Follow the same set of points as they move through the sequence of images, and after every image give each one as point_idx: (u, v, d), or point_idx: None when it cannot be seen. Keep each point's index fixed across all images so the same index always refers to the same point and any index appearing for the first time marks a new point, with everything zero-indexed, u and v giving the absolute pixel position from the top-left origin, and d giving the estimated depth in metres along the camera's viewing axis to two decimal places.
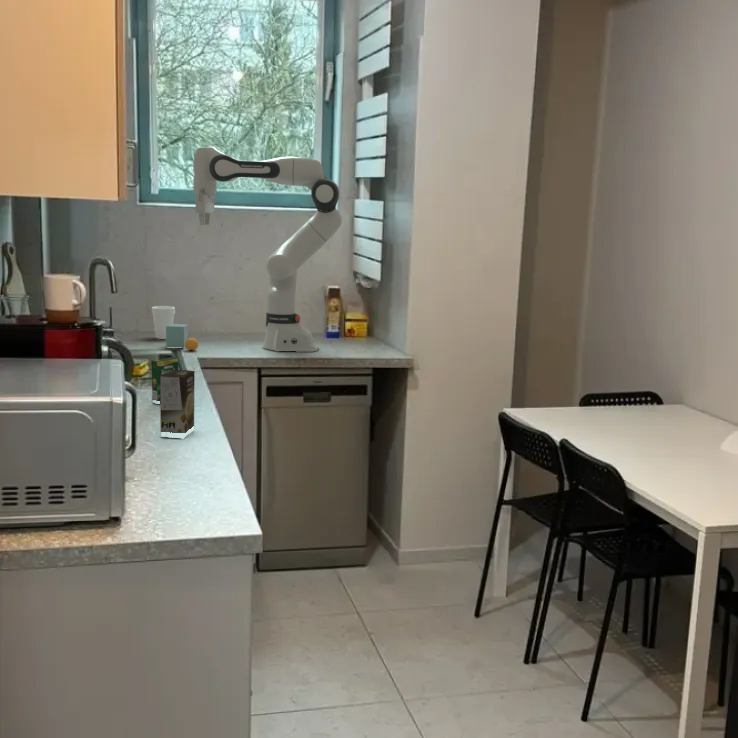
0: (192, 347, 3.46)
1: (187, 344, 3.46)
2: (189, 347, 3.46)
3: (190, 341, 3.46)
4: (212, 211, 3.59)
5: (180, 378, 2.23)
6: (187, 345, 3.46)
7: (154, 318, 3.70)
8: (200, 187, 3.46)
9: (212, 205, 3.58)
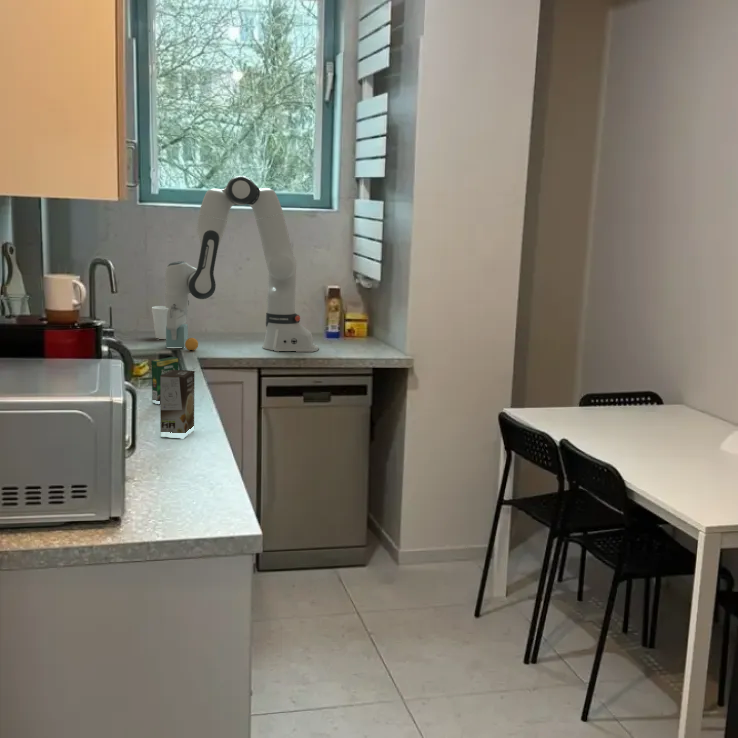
0: (192, 347, 3.46)
1: (187, 344, 3.46)
2: (189, 347, 3.46)
3: (190, 341, 3.46)
4: (184, 322, 3.60)
5: (180, 378, 2.23)
6: (187, 345, 3.46)
7: (154, 318, 3.70)
8: (172, 302, 3.47)
9: (184, 316, 3.59)
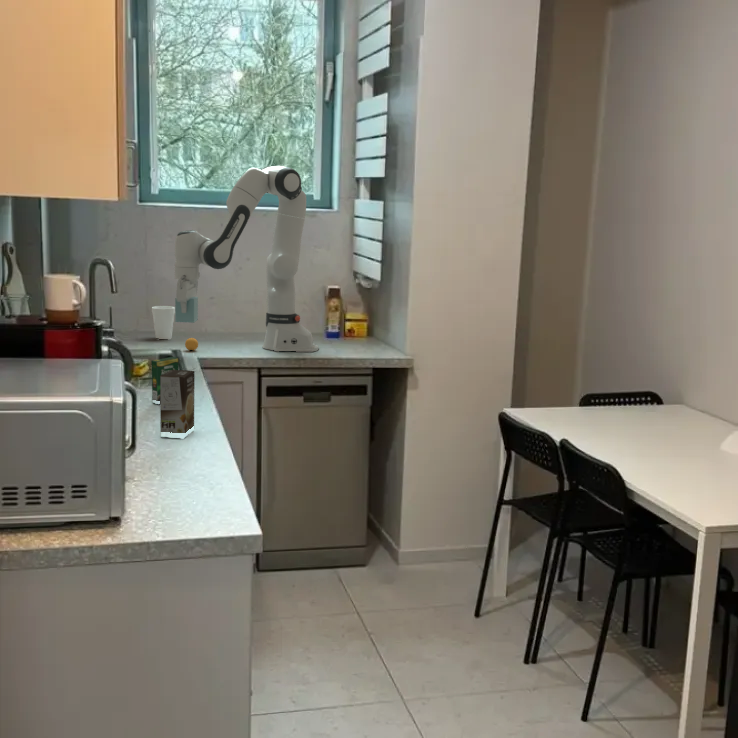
0: (192, 347, 3.46)
1: (187, 344, 3.46)
2: (189, 347, 3.46)
3: (190, 341, 3.46)
4: (195, 295, 3.42)
5: (180, 378, 2.23)
6: (187, 345, 3.46)
7: (154, 318, 3.70)
8: (181, 273, 3.30)
9: (195, 289, 3.42)
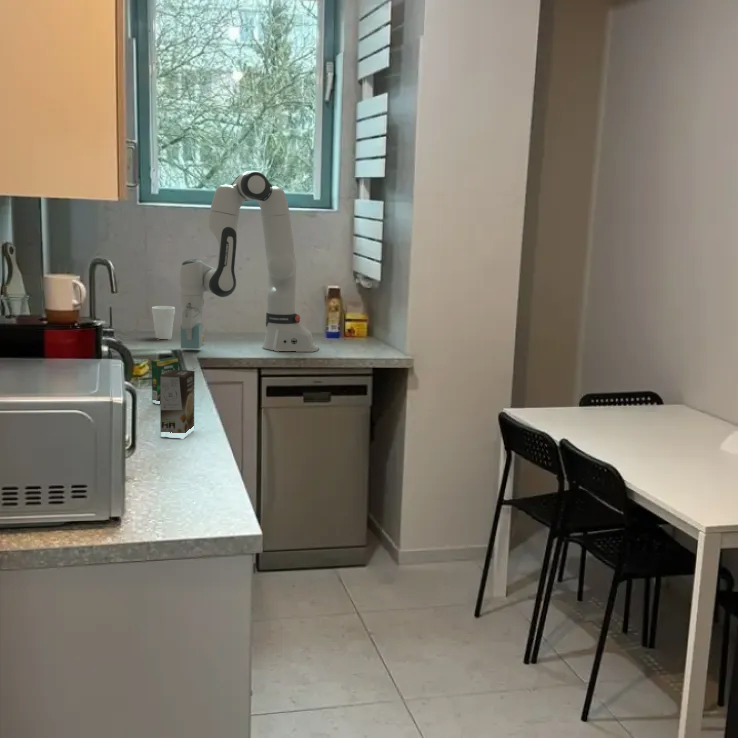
0: None
1: None
2: None
3: None
4: (199, 321, 3.53)
5: (180, 378, 2.23)
6: None
7: (154, 318, 3.70)
8: (187, 301, 3.40)
9: (199, 316, 3.52)
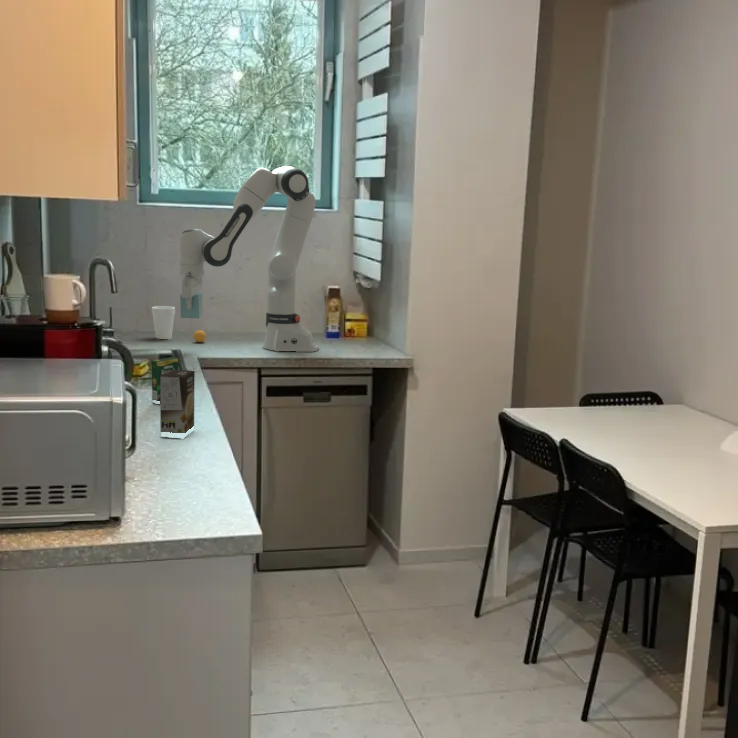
0: (201, 331, 3.66)
1: (196, 331, 3.67)
2: (198, 331, 3.66)
3: None
4: (199, 292, 3.51)
5: (180, 378, 2.23)
6: (196, 331, 3.67)
7: (154, 318, 3.70)
8: (186, 270, 3.38)
9: (199, 286, 3.50)
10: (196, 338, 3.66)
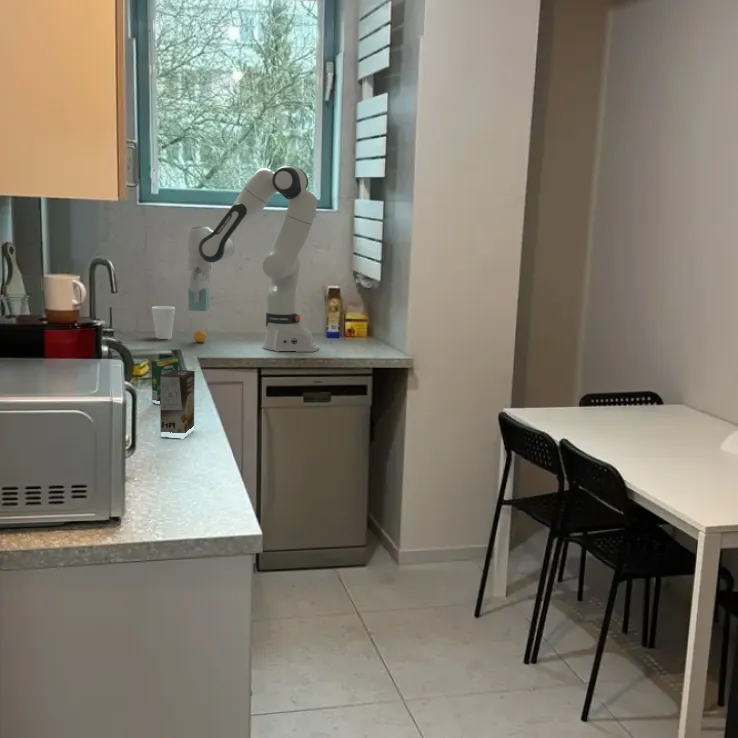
0: (201, 331, 3.66)
1: (196, 331, 3.67)
2: (198, 331, 3.66)
3: None
4: (206, 286, 3.71)
5: (180, 378, 2.23)
6: (196, 331, 3.67)
7: (154, 318, 3.70)
8: (195, 266, 3.58)
9: (206, 280, 3.70)
10: (196, 338, 3.66)
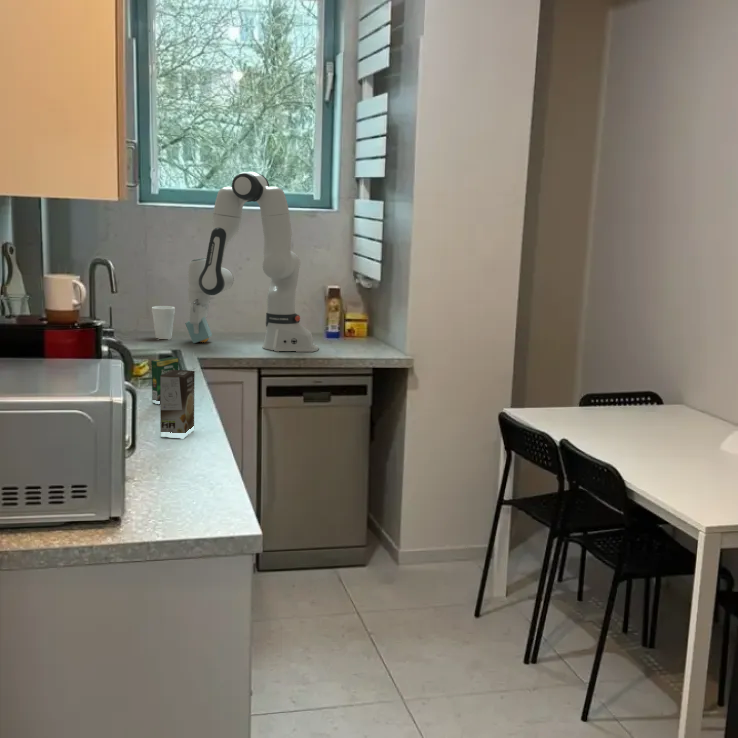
0: None
1: None
2: None
3: None
4: (206, 317, 3.73)
5: (180, 378, 2.23)
6: None
7: (154, 318, 3.70)
8: (194, 297, 3.61)
9: (206, 311, 3.73)
10: None
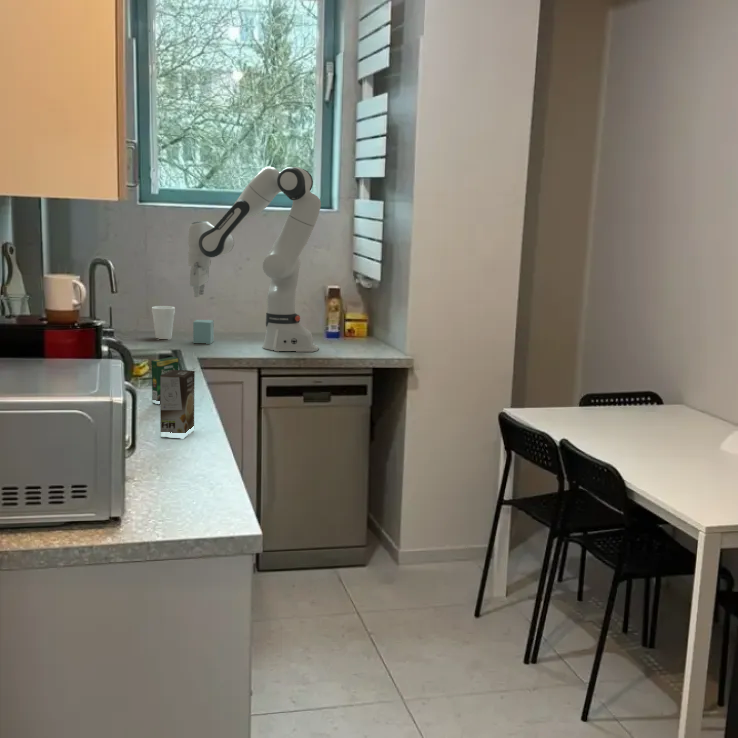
0: None
1: None
2: None
3: None
4: (206, 281, 3.71)
5: (180, 378, 2.23)
6: None
7: (154, 318, 3.70)
8: (194, 260, 3.58)
9: (206, 275, 3.70)
10: None
